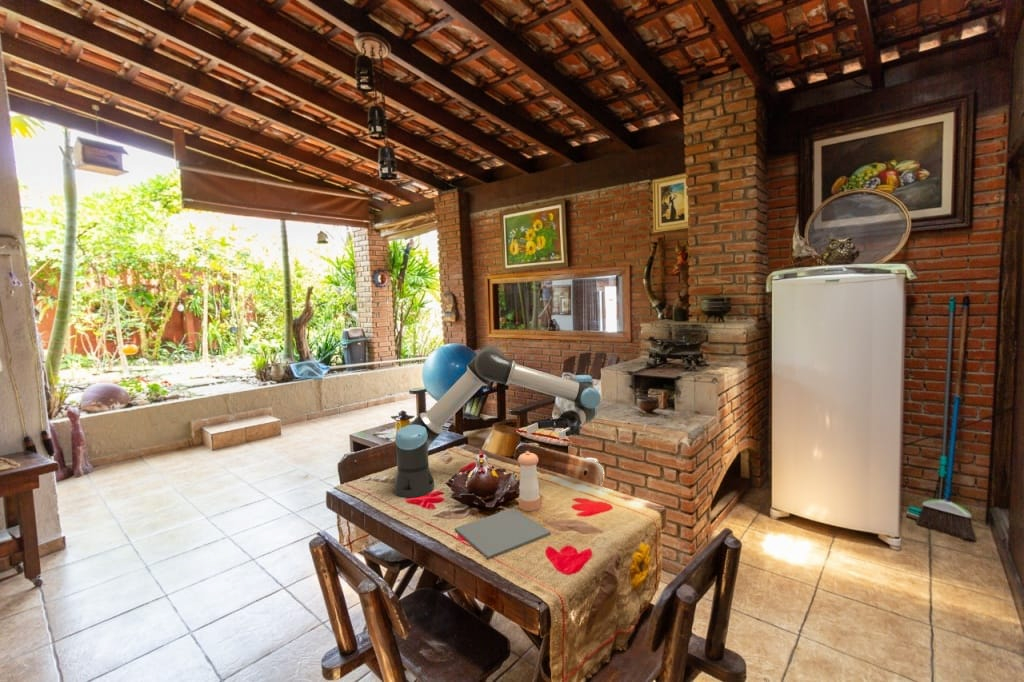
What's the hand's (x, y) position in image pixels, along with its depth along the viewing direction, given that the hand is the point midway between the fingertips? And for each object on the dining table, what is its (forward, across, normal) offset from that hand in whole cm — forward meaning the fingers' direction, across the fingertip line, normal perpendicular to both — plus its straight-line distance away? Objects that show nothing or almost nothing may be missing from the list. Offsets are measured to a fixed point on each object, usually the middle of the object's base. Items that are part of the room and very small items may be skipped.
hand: (543, 433), depth 163 cm
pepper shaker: (+10, 0, -23) cm, 25 cm away
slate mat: (+29, -2, -23) cm, 37 cm away
